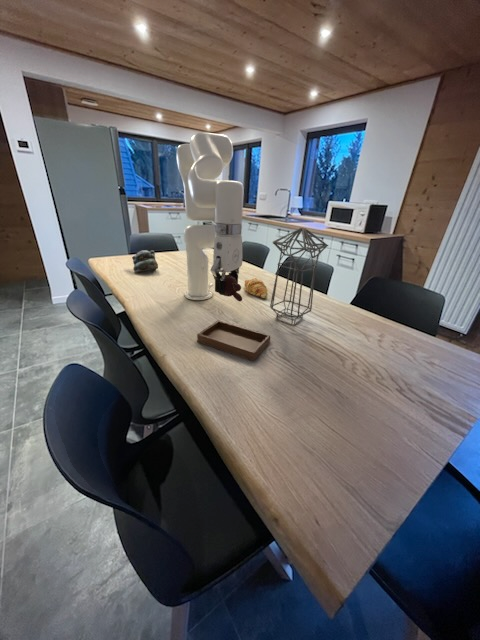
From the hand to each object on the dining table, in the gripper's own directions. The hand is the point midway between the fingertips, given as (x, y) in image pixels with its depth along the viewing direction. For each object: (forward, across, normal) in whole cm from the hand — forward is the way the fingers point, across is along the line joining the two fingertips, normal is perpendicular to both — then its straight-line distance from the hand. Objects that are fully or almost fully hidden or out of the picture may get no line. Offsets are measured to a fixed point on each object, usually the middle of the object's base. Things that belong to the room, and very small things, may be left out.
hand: (226, 288), depth 83 cm
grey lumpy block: (+18, +42, +81) cm, 93 cm away
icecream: (+2, 0, 0) cm, 2 cm away
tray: (+18, -1, -4) cm, 18 cm away
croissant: (+18, +47, +11) cm, 51 cm away
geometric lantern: (+18, +27, -14) cm, 35 cm away
